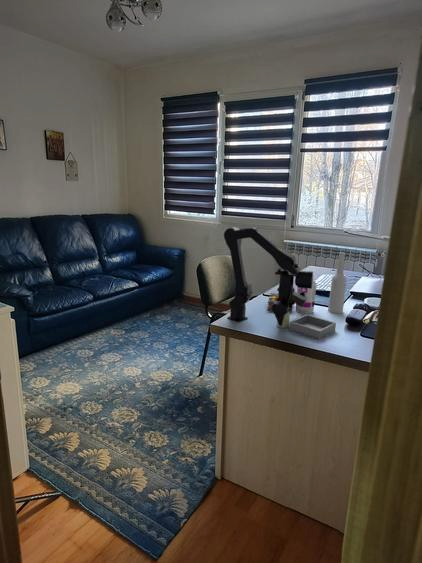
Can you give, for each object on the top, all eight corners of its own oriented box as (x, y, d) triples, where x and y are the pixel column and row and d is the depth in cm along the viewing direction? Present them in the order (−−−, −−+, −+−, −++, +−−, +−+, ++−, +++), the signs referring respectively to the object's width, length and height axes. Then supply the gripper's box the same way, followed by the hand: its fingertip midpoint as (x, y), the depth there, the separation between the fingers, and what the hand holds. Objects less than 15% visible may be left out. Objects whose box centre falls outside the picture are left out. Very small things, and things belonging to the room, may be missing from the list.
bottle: (345, 312, 168) (353, 253, 161) (336, 314, 165) (343, 254, 158) (334, 308, 174) (341, 251, 167) (325, 310, 170) (331, 252, 163)
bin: (319, 339, 136) (320, 331, 135) (289, 329, 145) (289, 321, 144) (335, 331, 145) (336, 322, 144) (306, 322, 154) (306, 314, 153)
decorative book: (292, 303, 180) (293, 294, 178) (291, 314, 164) (292, 303, 163) (269, 301, 182) (270, 292, 181) (266, 311, 167) (267, 301, 166)
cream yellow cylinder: (284, 328, 146) (285, 315, 144) (274, 325, 149) (275, 311, 148) (291, 325, 149) (292, 312, 148) (281, 322, 152) (282, 309, 151)
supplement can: (303, 314, 163) (306, 283, 159) (291, 309, 170) (294, 278, 166) (317, 312, 167) (320, 281, 163) (305, 307, 174) (307, 277, 170)
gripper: (301, 294, 133) (298, 333, 137) (310, 283, 150) (306, 318, 154) (272, 290, 138) (269, 328, 142) (283, 279, 154) (281, 314, 158)
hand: (283, 322), depth 149 cm, fingers open, 9 cm apart
